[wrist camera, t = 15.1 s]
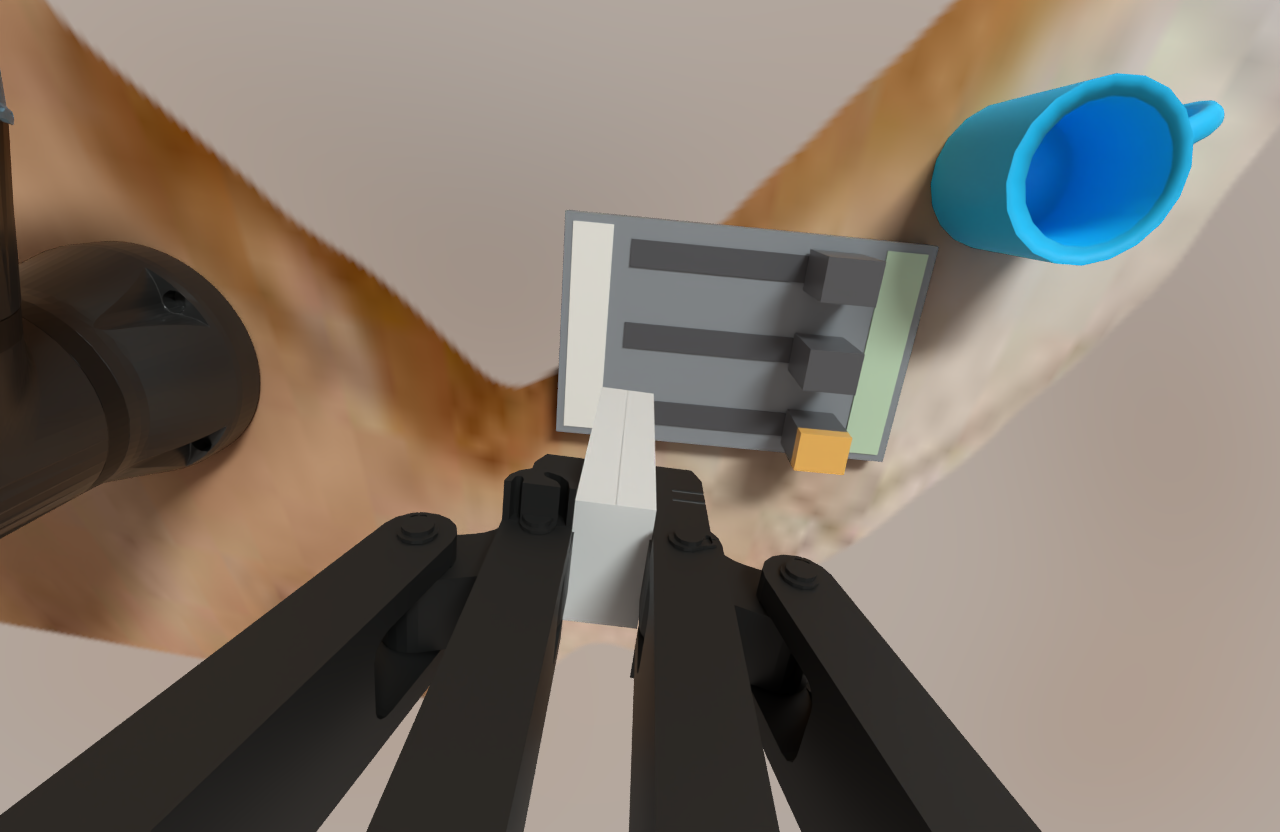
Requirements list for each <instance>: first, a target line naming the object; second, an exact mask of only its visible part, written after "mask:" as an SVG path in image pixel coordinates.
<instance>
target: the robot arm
mask: <svg viewBox="0 0 1280 832" xmlns="http://www.w3.org/2000/svg"><path fill="white" fill-rule="evenodd" d="M9 124H11V125H14V117H13V113H12V111H10V110H9V109H8V108H7V107H6V102H5V96H4V90H3V84H2V78H1V72H0V539H1V538H3V537H4V536H6V535H8V534H10V533H12V532H13V531H15V530H17V529H19V528H21V527H23V526H24V525H26V524H28V523H30V522H32V521H33V520H35V519H37V518H39V517H41V516H43V515H44V514H46V513H48V512H50V511H52V510H53V509H55V508H57V507H59V506H61V505H63V504H64V503H66V502H68V501H70V500H72V499H73V498H75V497H77V496H79V495H81V494H82V493H84V492H86V491H88V490H90V489H92V488H94V487H96V486H98V485H100V484H102V483H104V482H110V481H116V480H121V479H127V478H133V477H138V476H144V475H150V474H155V473H161V472H166V471H172V470H177V469H181V468H185V467H188V466H191V465H193V464H196V463H198V462H201V461H203V460H204V459H206V458H208V457H210V456H211V455H213V454H215V453H217V452H218V451H220V450H222V449H223V448H225V447H227V446H228V445H230V444H231V443H232V442H233V441H235V440H236V439H237V438H238V437H239V436H240V435H241V434H242V433H243V432H244V430H245V429H246V428H247V426H248V425H249V423H250V421H251V419H252V417H253V415H254V413H255V410H256V407H257V403H258V398H259V391H260V375H259V367H258V361H257V357H256V353H255V350H254V347H253V344H252V341H251V339H250V337H249V334H248V332H247V330H246V328H245V326H244V325H243V323H242V321H241V319H240V318H239V316H238V315H237V313H236V312H235V310H234V309H233V308H232V306H231V305H230V304H229V302H228V301H227V300H226V299H225V298H224V296H223V295H222V294H221V293H220V292H219V291H218V290H217V289H216V288H215V287H214V286H213V285H212V284H211V283H210V282H209V281H207V280H206V279H205V278H204V277H203V276H201V275H200V274H199V273H197V272H196V271H195V270H193V269H192V268H190V267H189V266H187V265H186V264H184V263H183V262H181V261H179V260H177V259H175V258H173V257H171V256H170V255H168V254H165V253H163V252H160V251H158V250H155V249H152V248H150V247H146V246H142V245H138V244H134V243H127V242H117V241H104V242H94V243H83V244H73V245H67V246H61V247H58V248H54V249H51V250H48V251H45V252H42V253H40V254H38V255H36V256H34V257H32V258H30V259H28V260H26V261H25V262H23V263H21V264H18V252H17V241H16V229H15V218H14V206H13V190H12V173H11V156H10V139H9ZM638 619H639V626H638V632H637V638H636V644H635V650H634V657H633V663H632V669H631V675H630V677H631V678H634V696H633V727H632V756H631V787H630V817H629V819H630V820H629V832H780V831H779V826H778V821H777V816H776V811H775V807H774V801H773V796H772V792H771V786H770V782H769V777H768V772H767V766H766V762H765V757H764V751H765V754H766V756H767V758H768V760H769V762H770V764H771V767H772V769H773V771H774V773H775V775H776V777H777V780H778V782H779V784H780V786H781V788H782V791H783V793H784V795H785V797H786V799H787V802H788V804H789V806H790V808H791V810H792V812H793V814H794V817H795V819H796V821H797V823H798V825H799V828H800V830H801V832H1041V830H1040V829H1039V828H1038V827H1037V825H1036V824H1035V823H1034V822H1033V821H1032V819H1031V818H1030V817H1029V816H1028V814H1027V813H1026V812H1025V811H1024V810H1023V808H1022V807H1021V806H1020V805H1019V803H1018V802H1017V801H1016V800H1015V799H1014V797H1013V796H1012V795H1011V794H1010V793H1009V791H1008V790H1007V789H1006V788H1005V786H1004V785H1003V784H1002V783H1001V782H1000V780H999V779H998V778H997V777H996V775H995V774H994V773H993V772H992V771H991V769H990V768H989V767H988V766H987V764H986V763H985V762H984V761H983V760H982V758H981V757H980V756H979V755H978V753H977V752H976V751H975V750H974V749H973V747H972V746H971V745H970V744H969V742H968V741H967V740H966V739H965V738H964V736H963V735H962V734H961V733H960V731H959V730H958V729H957V728H956V727H955V725H954V724H953V723H952V722H951V720H950V719H949V718H948V717H947V716H946V714H945V713H944V712H943V711H942V709H941V708H940V707H939V706H938V705H937V703H936V702H935V701H934V700H933V698H932V697H931V696H930V695H929V694H928V692H927V691H926V690H925V689H924V688H923V686H922V685H921V684H920V683H919V681H918V680H917V679H916V678H915V677H914V675H913V674H912V673H911V672H910V670H909V669H908V668H907V667H906V666H905V664H904V663H903V662H902V661H901V659H900V658H899V657H898V656H897V655H896V653H895V652H894V651H893V650H892V649H891V647H890V646H889V645H888V644H887V642H886V641H885V640H884V639H883V638H882V637H881V635H880V634H879V633H878V632H877V630H876V629H875V628H874V626H873V625H872V624H871V623H870V622H869V620H868V619H867V618H866V617H865V616H864V614H863V613H862V612H861V611H860V609H859V608H858V607H857V606H856V605H855V603H854V602H853V601H852V600H851V598H850V597H849V596H848V595H847V594H846V592H845V591H844V590H843V589H842V588H841V586H840V585H839V584H838V583H837V581H836V580H835V579H834V578H833V577H832V575H831V574H829V573H828V572H827V571H826V570H825V569H824V568H823V567H821V566H819V565H818V564H816V563H814V562H812V561H810V560H808V559H806V558H802V557H799V556H791V555H779V556H773V557H771V558H769V559H768V560H766V561H765V562H764V565H763V568H762V570H759V569H755V568H752V567H749V566H746V565H743V564H741V563H738V562H736V561H734V560H732V559H730V558H728V557H727V556H725V555H724V552H723V547H722V544H721V543H720V541H719V539H718V538H717V537H716V536H715V535H714V534H713V533H711V532H710V526H709V521H708V515H707V510H706V505H705V499H704V495H703V487H702V482H701V481H700V480H699V479H698V477H697V476H696V475H695V474H694V473H693V472H692V471H689V470H681V469H673V468H665V467H657V466H655V428H654V394H652V393H645V392H637V391H630V390H622V389H615V388H607V387H602V388H601V392H600V397H599V401H598V405H597V409H596V414H595V418H594V422H593V426H592V431H591V435H590V439H589V444H588V448H587V452H586V456H585V459H582V458H574V457H567V456H559V455H551V454H547V455H545V456H544V457H542V458H540V459H539V460H537V461H536V462H535V463H534V465H533V468H531V469H525V470H519V471H517V472H515V473H512V474H510V475H509V476H508V477H507V478H506V479H505V480H504V496H503V513H502V521H501V523H500V525H499V528H497V529H495V530H492V531H488V532H485V533H477V534H466V535H457V528H456V525H455V524H454V523H453V522H452V521H451V520H450V519H448V518H446V517H444V516H441V515H439V514H432V513H426V512H420V513H418V512H417V513H410V514H406V515H402V516H398V517H395V518H394V519H392V520H390V521H388V522H386V523H384V524H383V525H382V526H380V527H379V528H378V529H377V530H375V531H374V532H373V533H371V534H370V535H369V536H367V537H366V538H365V539H363V540H362V541H361V542H359V543H358V544H357V545H355V546H354V547H353V548H351V549H350V550H349V551H348V552H346V553H345V554H344V555H342V556H341V557H340V558H338V559H337V560H336V561H334V562H333V563H332V564H330V565H329V566H328V567H326V568H325V569H324V570H323V571H321V572H320V573H319V574H317V575H316V576H315V577H313V578H312V579H311V580H309V581H308V582H307V583H305V584H304V585H303V586H301V587H300V588H299V589H297V590H296V591H295V592H294V593H292V594H291V595H290V596H288V597H287V598H286V599H284V600H283V601H282V602H280V603H279V604H278V605H276V606H275V607H274V608H272V609H271V610H270V611H269V612H267V613H266V614H265V615H263V616H262V617H261V618H259V619H258V620H257V621H255V622H254V623H253V624H251V625H250V626H249V627H247V628H246V629H245V630H244V631H242V632H241V633H240V634H238V635H237V636H236V637H234V638H233V639H232V640H230V641H229V642H228V643H226V644H225V645H224V646H222V647H221V648H220V649H218V650H217V651H216V652H215V653H213V654H212V655H211V656H209V657H208V658H207V659H205V660H204V661H203V662H201V663H200V664H199V665H197V666H196V667H195V668H193V669H192V670H191V671H190V672H188V673H187V674H186V675H184V676H183V677H182V678H180V679H179V680H178V681H176V682H175V683H174V684H172V685H171V686H170V687H169V688H167V689H166V690H165V691H163V692H162V693H161V694H159V695H158V696H157V697H155V698H154V699H153V700H151V701H150V702H149V703H147V704H146V705H145V706H144V707H142V708H141V709H139V710H138V711H137V712H136V713H134V714H133V715H132V716H130V717H129V718H128V719H126V720H125V721H124V722H122V723H121V724H120V725H119V726H117V727H116V728H114V729H113V730H112V731H111V732H109V733H108V734H107V735H105V736H104V737H103V738H101V739H100V740H99V741H97V742H96V743H95V744H93V745H92V746H91V747H90V748H88V749H87V750H85V751H84V752H83V753H82V754H80V755H79V756H78V757H76V758H75V759H74V760H72V761H71V762H70V763H68V764H67V765H66V766H64V767H63V768H62V769H60V770H59V771H58V772H57V773H55V774H54V775H53V776H51V777H50V778H49V779H47V780H46V781H45V782H43V783H42V784H41V785H39V786H38V787H37V788H35V789H34V790H33V791H31V792H30V793H29V794H28V795H27V796H25V797H24V798H22V799H21V800H20V801H18V802H17V803H16V804H14V805H13V806H12V807H11V808H9V809H8V810H7V811H5V812H4V813H2V814H1V815H0V832H316V831H317V830H318V829H319V827H320V826H321V825H322V824H323V822H324V821H325V820H326V818H327V817H328V816H329V814H330V813H331V812H332V811H333V809H334V808H335V807H336V806H337V804H338V803H339V802H340V800H341V799H342V798H343V797H344V795H345V794H346V793H347V791H348V790H349V789H350V787H351V786H352V785H353V784H354V782H355V781H356V780H357V778H358V777H359V776H360V775H361V773H362V772H363V771H364V769H365V768H366V767H367V766H368V764H369V763H370V762H371V760H372V759H373V758H374V757H375V755H376V754H377V753H378V751H379V750H380V749H381V748H382V746H383V745H384V744H385V742H386V741H387V740H388V738H389V737H390V736H391V735H392V733H393V732H394V731H395V729H396V728H397V727H398V725H399V724H400V723H401V722H402V720H403V719H404V718H405V717H406V715H407V714H408V713H409V711H410V710H411V709H412V707H413V706H414V705H415V703H416V702H417V701H418V700H419V698H420V697H421V696H422V695H423V693H424V692H425V691H426V689H427V688H428V687H429V689H428V691H427V693H426V696H425V698H424V700H423V703H422V705H421V707H420V709H419V712H418V714H417V716H416V719H415V722H414V723H413V726H412V728H411V730H410V732H409V735H408V737H407V739H406V742H405V744H404V746H403V749H402V751H401V753H400V755H399V758H398V760H397V762H396V765H395V767H394V769H393V772H392V774H391V776H390V778H389V781H388V783H387V785H386V788H385V790H384V792H383V795H382V797H381V799H380V801H379V804H378V807H377V808H376V811H375V813H374V815H373V818H372V820H371V822H370V824H369V827H368V829H367V832H523V831H524V827H525V821H526V815H527V811H528V805H529V800H530V795H531V789H532V785H533V779H534V774H535V769H536V764H537V758H538V753H539V748H540V742H541V738H542V732H543V727H544V722H545V717H546V711H547V706H548V701H549V696H550V691H551V685H552V680H553V675H554V670H555V664H556V659H557V654H558V649H559V643H560V638H561V629H562V620H568V621H577V622H585V623H594V624H602V625H611V626H619V627H628V628H636V629H637V625H638ZM763 749H764V751H763Z"/></svg>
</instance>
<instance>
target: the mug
mask: <svg viewBox="0 0 1280 832" xmlns="http://www.w3.org/2000/svg"><path fill="white" fill-rule="evenodd" d="M1223 119H1224V109H1223V108H1222V106H1221V105H1219V104H1218V103H1217V102H1215V101H1198V102H1193V103H1188V104H1184V105H1183V104H1182V103H1181V102H1180V101H1179V99H1178V98H1177V97H1176V96H1175V94H1174V93H1173V92H1172V90H1171V89H1170V88H1168V87H1166V86H1164V85H1163V84H1161V83H1159V82H1157V81H1155V80H1153V79H1151V78H1149V77H1147V76H1143V75H1130V74H1118V73H1116V74H1112V75H1108V76H1104V77H1100V78H1096V79H1092V80H1088V81H1084V82H1080V83H1076V84H1072V85H1068V86H1064V87H1060V88H1056V89H1052V90H1048V91H1044V92H1040V93H1036V94H1032V95H1028V96H1024V97H1021V98H1017V99H1013V100H1009V101H1005V102H1001V103H997V104H993V105H989V106H987V107H985V108H984V109H982V110H981V111H979V112H977V113H976V114H974V115H972V116H971V117H969V118H967V119H966V120H965V121H964V122H963V123H962V124H961V125H960V126H959V127H958V128H957V130H956V131H955V132H954V133H953V134H952V135H951V136H950V137H949V138H948V140H947V142H946V143H945V145H944V147H943V149H942V151H941V153H940V154H939V156H938V158H937V160H936V164H935V168H934V172H933V176H932V181H931V195H932V207H933V209H934V212H935V214H936V216H937V219H938V221H939V223H940V225H941V226H942V227H943V229H944V230H945V231H946V232H947V233H948V234H949V235H950V236H951V237H952V238H953V239H954V240H956V241H958V242H961V243H963V244H965V245H967V246H969V247H972V248H976V249H981V250H987V251H992V252H997V253H1003V254H1008V255H1013V256H1019V257H1024V258H1029V259H1035V260H1040V261H1045V262H1051V263H1057V264H1069V265H1086V264H1091V263H1095V262H1099V261H1104V260H1108V259H1111V258H1113V257H1115V256H1117V255H1119V254H1120V253H1122V252H1124V251H1126V250H1128V249H1130V248H1132V247H1134V246H1136V245H1137V244H1138V243H1140V242H1141V241H1142V240H1143V239H1144V238H1145V237H1146V236H1147V235H1149V234H1150V233H1151V232H1152V231H1153V230H1154V229H1155V228H1156V227H1158V226H1159V225H1160V224H1161V223H1162V221H1163V220H1164V219H1165V217H1166V216H1167V214H1168V213H1169V211H1170V210H1171V209H1172V207H1173V206H1174V204H1175V203H1176V202H1177V200H1178V199H1179V197H1180V195H1181V193H1182V190H1183V187H1184V185H1185V182H1186V179H1187V177H1188V174H1189V171H1190V169H1191V165H1192V152H1193V144H1194V143H1196V142H1198V141H1200V140H1202V139H1204V138H1205V137H1207V136H1209V135H1210V134H1211V133H1212V132H1214V131H1215V130H1216V129H1217V128H1218V127H1219V126H1220V125H1221V123H1222V122H1223Z"/></svg>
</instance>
